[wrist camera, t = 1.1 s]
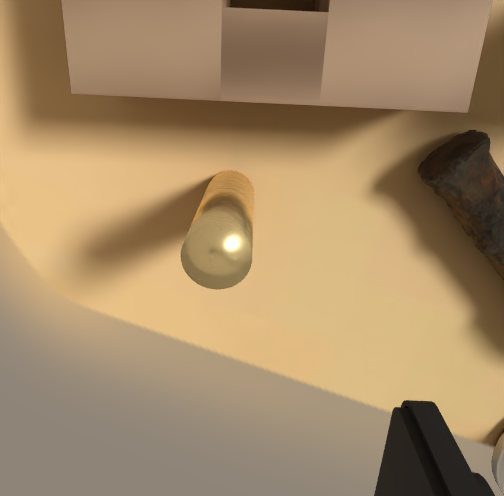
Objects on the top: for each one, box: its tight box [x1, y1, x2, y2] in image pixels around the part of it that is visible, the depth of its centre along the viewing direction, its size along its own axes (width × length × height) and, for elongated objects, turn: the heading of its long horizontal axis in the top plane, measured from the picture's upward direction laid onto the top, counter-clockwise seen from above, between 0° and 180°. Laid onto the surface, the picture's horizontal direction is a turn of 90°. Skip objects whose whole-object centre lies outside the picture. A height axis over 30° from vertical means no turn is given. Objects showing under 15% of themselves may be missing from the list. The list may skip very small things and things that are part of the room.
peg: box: [181, 171, 254, 289], centre depth 23 cm, size 3×3×10 cm
